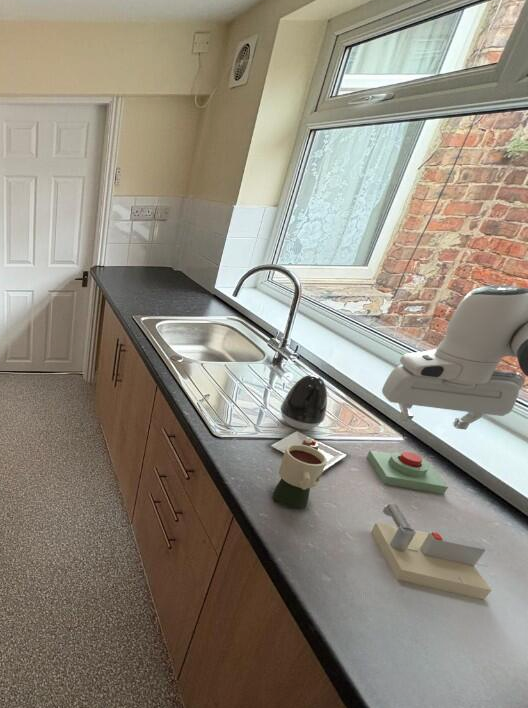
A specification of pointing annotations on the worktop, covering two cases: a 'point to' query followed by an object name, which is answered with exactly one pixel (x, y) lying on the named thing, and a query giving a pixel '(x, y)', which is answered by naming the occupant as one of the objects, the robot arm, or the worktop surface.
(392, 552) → the tap block
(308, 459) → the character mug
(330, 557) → the worktop surface
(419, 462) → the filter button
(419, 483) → the green button base
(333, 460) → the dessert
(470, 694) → the worktop surface
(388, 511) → the spout
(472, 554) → the tap handle
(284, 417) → the black egg shaped dome
